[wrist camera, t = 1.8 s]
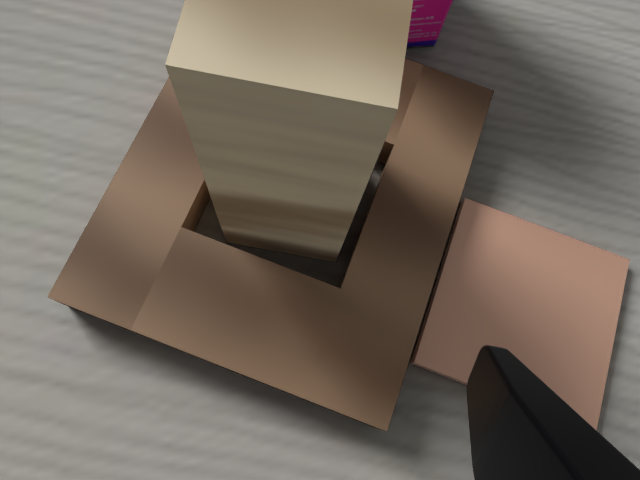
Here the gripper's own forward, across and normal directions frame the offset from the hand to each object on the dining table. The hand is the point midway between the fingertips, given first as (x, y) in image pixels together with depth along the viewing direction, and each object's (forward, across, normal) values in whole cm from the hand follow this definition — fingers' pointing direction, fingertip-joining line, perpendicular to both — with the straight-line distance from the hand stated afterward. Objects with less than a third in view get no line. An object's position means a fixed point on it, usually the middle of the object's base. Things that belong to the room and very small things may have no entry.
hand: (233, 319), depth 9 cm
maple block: (+15, 0, +4) cm, 15 cm away
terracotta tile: (+12, -11, +6) cm, 18 cm away
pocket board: (+15, 0, +4) cm, 15 cm away
